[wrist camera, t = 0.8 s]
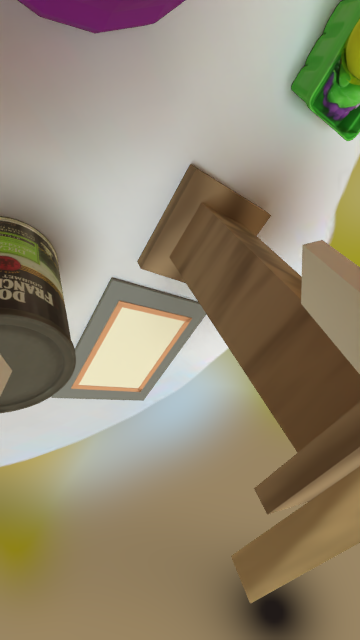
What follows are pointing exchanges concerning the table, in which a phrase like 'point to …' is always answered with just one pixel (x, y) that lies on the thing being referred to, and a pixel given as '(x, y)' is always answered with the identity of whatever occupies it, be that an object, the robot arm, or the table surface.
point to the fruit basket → (335, 72)
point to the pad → (130, 342)
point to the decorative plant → (102, 12)
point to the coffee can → (31, 318)
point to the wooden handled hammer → (302, 539)
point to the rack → (263, 332)
